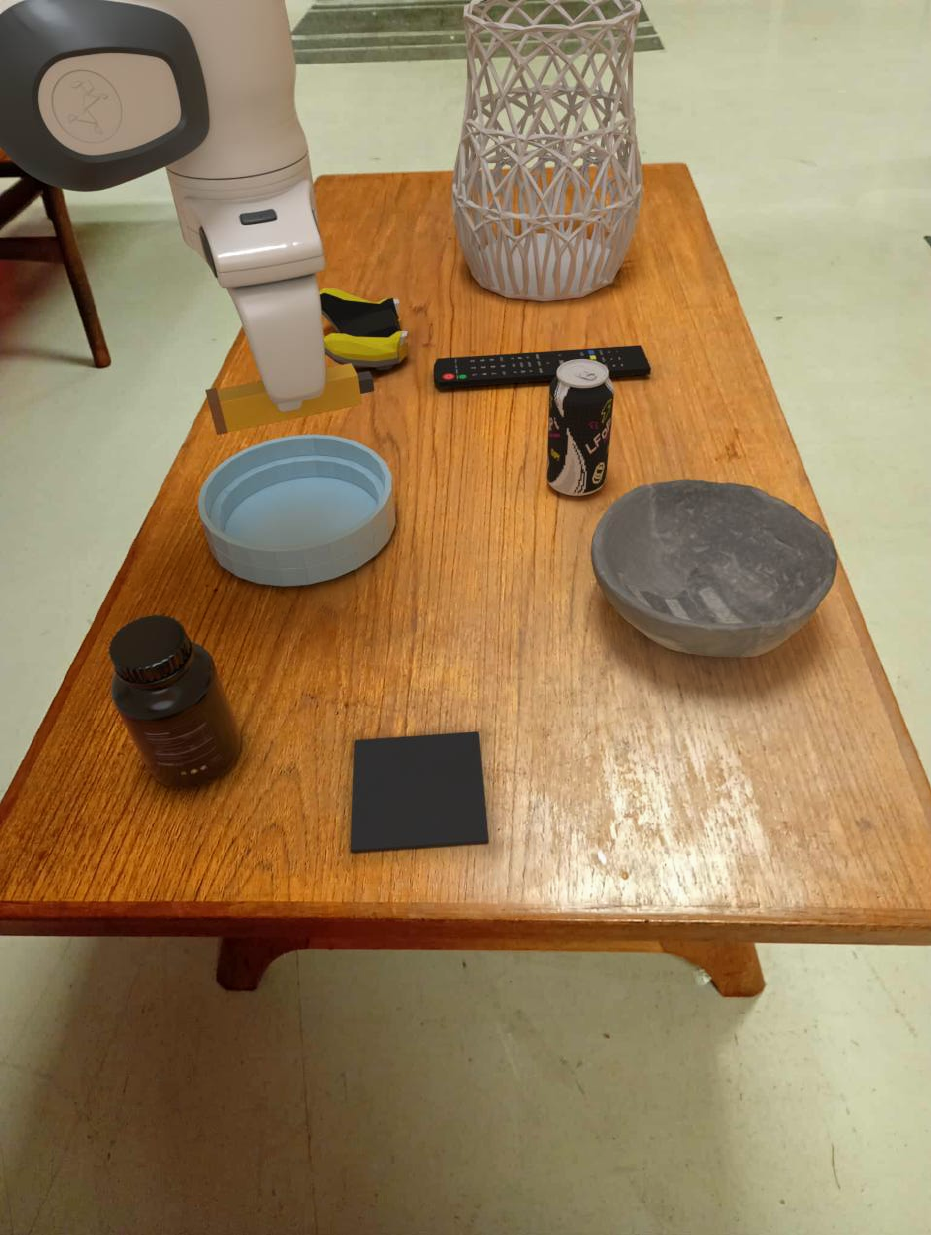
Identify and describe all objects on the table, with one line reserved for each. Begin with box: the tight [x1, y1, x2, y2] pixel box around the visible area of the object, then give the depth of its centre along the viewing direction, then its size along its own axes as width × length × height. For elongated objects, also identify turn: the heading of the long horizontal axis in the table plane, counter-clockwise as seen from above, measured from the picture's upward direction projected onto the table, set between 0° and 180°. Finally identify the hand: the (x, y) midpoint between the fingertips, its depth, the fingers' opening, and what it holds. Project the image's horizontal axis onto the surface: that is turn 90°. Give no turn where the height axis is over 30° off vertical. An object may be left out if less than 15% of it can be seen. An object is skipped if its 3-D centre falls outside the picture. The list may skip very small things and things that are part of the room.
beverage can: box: [545, 359, 615, 497], centre depth 81 cm, size 6×6×12 cm
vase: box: [451, 0, 643, 302], centre depth 110 cm, size 24×24×30 cm
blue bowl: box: [196, 434, 397, 587], centre depth 81 cm, size 17×17×4 cm
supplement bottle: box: [108, 614, 242, 790], centre depth 60 cm, size 7×7×12 cm
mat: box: [350, 730, 489, 854], centre depth 61 cm, size 9×9×1 cm
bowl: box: [590, 478, 838, 658], centre depth 70 cm, size 18×18×8 cm
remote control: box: [432, 344, 652, 389], centre depth 100 cm, size 5×24×1 cm, turn 94°
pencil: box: [205, 363, 375, 436], centre depth 67 cm, size 12×2×3 cm, turn 109°
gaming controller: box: [319, 287, 410, 371], centre depth 104 cm, size 15×6×10 cm
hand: (284, 395), depth 67 cm, fingers closed on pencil, 2 cm apart
